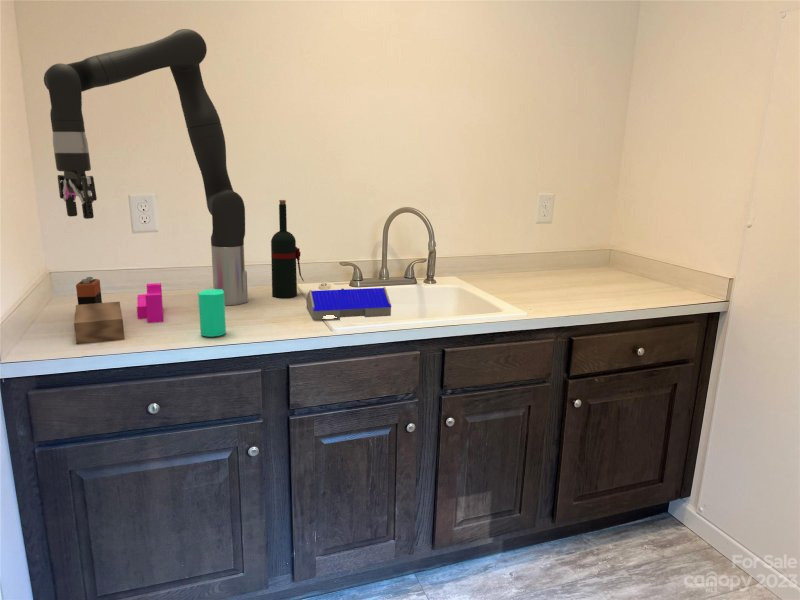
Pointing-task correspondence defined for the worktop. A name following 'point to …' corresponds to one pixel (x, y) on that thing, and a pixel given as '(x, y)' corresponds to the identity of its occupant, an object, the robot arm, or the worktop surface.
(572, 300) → the worktop surface
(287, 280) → the wine bottle
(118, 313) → the walnut plinth
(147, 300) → the magenta bracket
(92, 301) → the battery
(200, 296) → the candle
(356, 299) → the roof
